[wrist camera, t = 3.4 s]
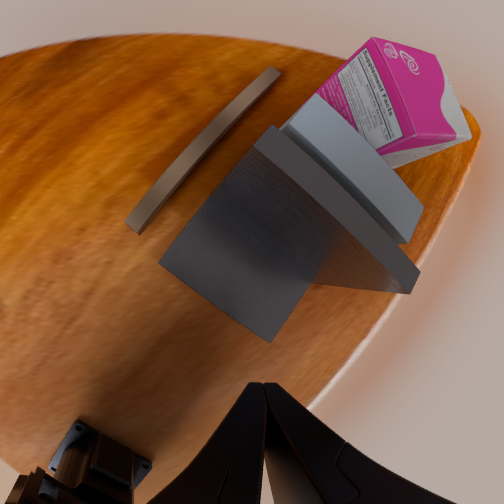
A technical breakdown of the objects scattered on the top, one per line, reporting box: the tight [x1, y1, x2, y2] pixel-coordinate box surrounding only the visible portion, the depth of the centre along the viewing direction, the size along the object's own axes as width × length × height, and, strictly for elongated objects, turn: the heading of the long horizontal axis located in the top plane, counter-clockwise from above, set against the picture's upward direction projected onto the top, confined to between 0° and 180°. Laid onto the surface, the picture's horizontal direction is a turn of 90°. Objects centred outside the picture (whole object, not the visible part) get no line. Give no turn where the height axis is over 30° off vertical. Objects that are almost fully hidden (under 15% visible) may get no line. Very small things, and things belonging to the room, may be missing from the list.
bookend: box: [158, 124, 420, 343], centre depth 15 cm, size 6×9×10 cm
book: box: [279, 93, 424, 244], centre depth 17 cm, size 2×8×9 cm, turn 53°
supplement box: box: [302, 37, 472, 169], centre depth 17 cm, size 6×6×11 cm
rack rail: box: [124, 66, 281, 235], centre depth 19 cm, size 15×1×2 cm, turn 143°
